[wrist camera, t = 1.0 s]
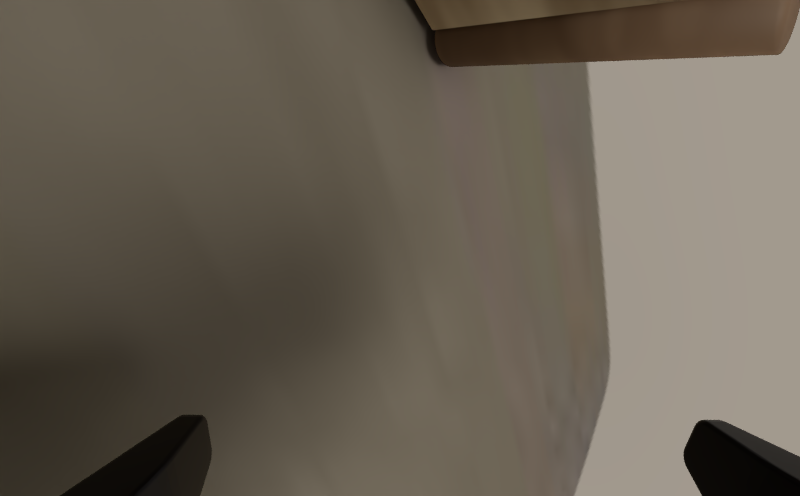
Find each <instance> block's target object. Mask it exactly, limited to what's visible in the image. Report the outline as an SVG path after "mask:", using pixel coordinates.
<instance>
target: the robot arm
mask: <svg viewBox="0 0 800 496" xmlns="http://www.w3.org/2000/svg"><path fill="white" fill-rule="evenodd" d="M211 454H212V448H211V442H210V436H209V430H208V424H207V420H206V418H205V417H204V416H203V415H181V416H179V417H177V418H176V419H174V420H173V421H171V422H170V423H168V424H167V425H165V426H164V427H162V428H161V429H159V430H158V431H156V432H155V433H153V434H152V435H150V436H149V437H147V438H146V439H144V440H143V441H141V442H140V443H138V444H137V445H135V446H134V447H132V448H131V449H129V450H128V451H126V452H125V453H123V454H122V455H120V456H119V457H117V458H116V459H114V460H113V461H111V462H110V463H108V464H107V465H105V466H104V467H102V468H101V469H99V470H98V471H96V472H95V473H93V474H92V475H90V476H89V477H87V478H86V479H84V480H83V481H81V482H80V483H78V484H77V485H75V486H74V487H72V488H71V489H69V490H68V491H66V492H65V493H63V494H62V495H60V496H200V494H201V491H202V488H203V485H204V481H205V478H206V475H207V472H208V469H209V465H210V461H211ZM684 461H685V464H686V467H687V469H688V470H689V472H690V474H691V476H692V478H693V480H694V481H695V484H696V485H697V487H698V489H699V491H700V493H701V494H702V496H800V457H799V456H797V455H795V454H793V453H790V452H788V451H786V450H784V449H782V448H780V447H778V446H776V445H773V444H771V443H769V442H767V441H765V440H763V439H760V438H758V437H756V436H754V435H752V434H750V433H748V432H746V431H744V430H742V429H739V428H737V427H735V426H733V425H731V424H729V423H727V422H724V421H720V420H701V421H699V422H698V423H696V425H695V427H694V429H693V431H692V433H691V436H690V438H689V440H688V442H687V444H686V447H685V449H684Z"/></svg>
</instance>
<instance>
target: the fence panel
mask: <svg viewBox="0 0 800 496" xmlns="http://www.w3.org/2000/svg"><path fill="white" fill-rule="evenodd" d="M415 1H416V3H417V5H418V6H419V8H420V10H421V12H422V13H423V15H424V17H425V19H426V20H427V22H428V24H429V25H430V27H431V29H432V30H436V33H435V46H436V51H437V54H438V56H439V58H440V60H441V61H442V62H443V63H444V64H445V65H447V66H449V67H463V66H490V65H517V64H543V63H570V62H596V61H622V60H648V59H675V58H701V57H726V56H727V57H729V56H754V55H778V54H780V53H781V52H782V51H783V50H784V49H785V47H786V45H787V43H788V41H789V39H790V37H791V34H792V32H793V28H794V26H795V23H796V19H797V16H798V12H799V8H800V0H415Z"/></svg>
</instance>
